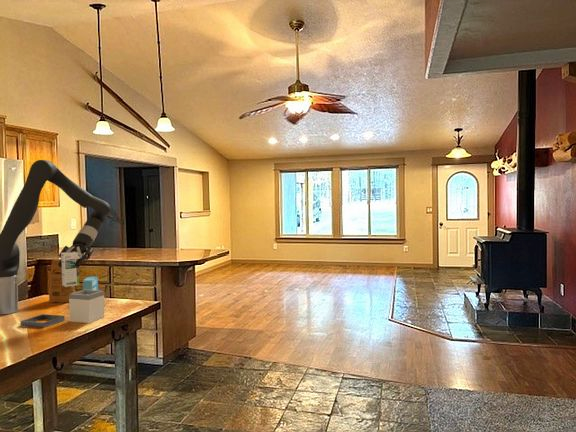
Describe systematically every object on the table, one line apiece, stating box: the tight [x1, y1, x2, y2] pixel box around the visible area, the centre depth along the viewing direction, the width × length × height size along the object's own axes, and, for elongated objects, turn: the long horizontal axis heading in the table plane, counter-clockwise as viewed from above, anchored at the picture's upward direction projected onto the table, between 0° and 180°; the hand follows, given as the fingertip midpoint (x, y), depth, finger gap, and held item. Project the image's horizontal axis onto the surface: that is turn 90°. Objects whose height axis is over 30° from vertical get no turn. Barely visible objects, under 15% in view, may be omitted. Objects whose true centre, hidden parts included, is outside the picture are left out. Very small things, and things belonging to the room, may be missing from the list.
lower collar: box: [20, 313, 66, 329], centre depth 183 cm, size 12×12×2 cm
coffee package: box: [48, 258, 76, 304], centre depth 222 cm, size 10×12×22 cm
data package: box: [82, 276, 99, 290], centre depth 223 cm, size 12×4×12 cm, turn 11°
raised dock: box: [68, 289, 105, 324], centre depth 189 cm, size 10×10×12 cm
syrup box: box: [60, 252, 80, 287], centre depth 186 cm, size 6×6×14 cm
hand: (67, 266), depth 184 cm, fingers closed on syrup box, 8 cm apart
